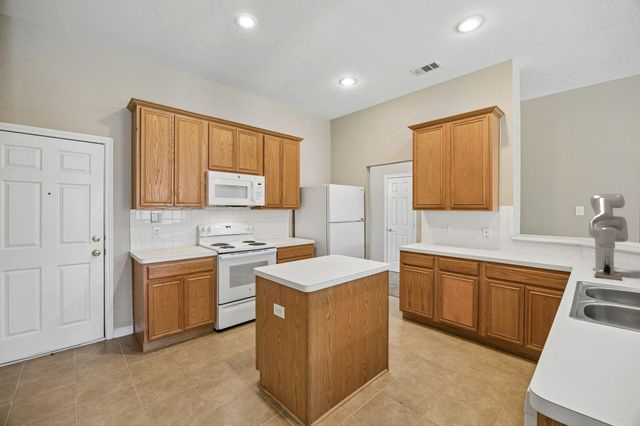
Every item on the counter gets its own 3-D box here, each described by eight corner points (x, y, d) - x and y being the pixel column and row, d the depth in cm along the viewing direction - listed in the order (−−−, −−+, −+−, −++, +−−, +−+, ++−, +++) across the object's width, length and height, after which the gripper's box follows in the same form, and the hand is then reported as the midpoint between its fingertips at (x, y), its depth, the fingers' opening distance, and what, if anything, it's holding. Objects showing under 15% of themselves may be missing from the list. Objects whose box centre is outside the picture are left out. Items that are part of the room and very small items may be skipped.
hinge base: (594, 276, 190) (594, 273, 190) (620, 278, 182) (620, 276, 182) (594, 278, 181) (594, 276, 181) (621, 282, 172) (621, 279, 172)
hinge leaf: (595, 273, 197) (595, 270, 197) (618, 275, 190) (618, 273, 190) (595, 276, 188) (595, 274, 188) (619, 279, 181) (619, 276, 181)
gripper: (599, 244, 200) (599, 270, 199) (599, 246, 189) (599, 273, 189) (614, 245, 194) (614, 272, 194) (615, 246, 184) (615, 275, 183)
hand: (607, 272), depth 191 cm, fingers closed
